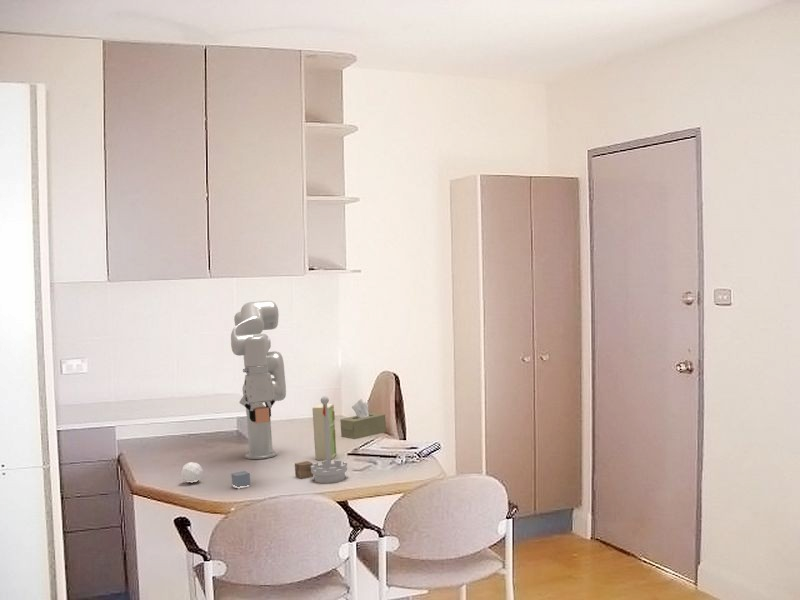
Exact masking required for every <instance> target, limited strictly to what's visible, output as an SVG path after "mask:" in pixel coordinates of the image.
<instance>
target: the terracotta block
mask: <svg viewBox="0 0 800 600" xmlns="http://www.w3.org/2000/svg"><path fill="white" fill-rule="evenodd" d="M254 411H255V420H256V421H255V422H254V423H263V422H270V420H271V417H269V408H268V407H266V405H264V406H262V407H255V408H254ZM252 422H253V421H252Z"/></svg>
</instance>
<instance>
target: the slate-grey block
mask: <svg viewBox="0 0 800 600" xmlns="http://www.w3.org/2000/svg"><path fill="white" fill-rule="evenodd" d="M231 483H232V484H233V485H235V486H237V487H240V486H247V485H251V484H252V483H251V474H250V472H248V471H246V470H243V471H237V472H232V473H231ZM251 486H252V485H251Z"/></svg>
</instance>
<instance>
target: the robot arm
mask: <svg viewBox="0 0 800 600" xmlns="http://www.w3.org/2000/svg"><path fill="white" fill-rule="evenodd" d="M279 315H280V314H279V308H278V304H276V303H275V302H274V301H273V300H258V301H249V302H247V303H244V304H243V305H242V307H241V309H240V311H239V312H237V313H235V314H234V316H233V317H234V319H233V321H234V327H233V329H232V330H231V333H230V346H231V351H232V353H233V355H236V356H237V357H239V356H240V357H241V356H243V363H244V364H243V366H244V368H242V372H243V373H245V375H244V384H242V396H241V399H240V400H239V404H240V405H241V406H243V407H244V408H245V413H246V426H247V438H248V451H249V452H247V453H245V458H246V459H247V460H265V459H271V458H274V457H276V456H277V454H278V453H277V451H276V450H273V437H272V423H271V419H270V422H263V423H254V422H255V421H256V420H255V411H254V408H255V407H262V406H265V407H268V408H269V417H270V418H271V417H272V409H271V408H272V406H274V404H275V402H279V401H282V400H284V399H285V398H286V395H287V387H286V385H287V384H286V383H287V382H286V374H285V363H284V358H283V355H282V354H281V352H279V351H276V350H275V351H274V350H273V351H269V350H270V349H271V346H272V345H271V344H272V343H271V338H270V337H269V336H268V335H267V334H266V333H262V332H263V331H267V330H268V331H269V330H275V329H277V327H278V325H279ZM252 421H253V422H252Z"/></svg>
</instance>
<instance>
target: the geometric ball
mask: <svg viewBox="0 0 800 600" xmlns="http://www.w3.org/2000/svg"><path fill="white" fill-rule="evenodd" d="M203 474H204V471H203V468H202V466H201V465H200V464H199V463H198V462H195V461H194V462H192V461H190V462H187V463H186V464H184V465H183V466H182V469H181V471H180V476H181V478H182V480H183V481H184V480H185V481H194V480H199V479H200V480H202V476H203ZM200 480H199V481H200ZM185 481H184V482H185Z"/></svg>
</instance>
